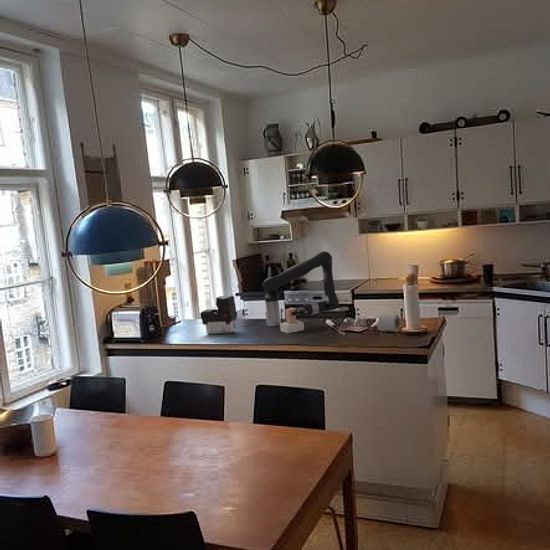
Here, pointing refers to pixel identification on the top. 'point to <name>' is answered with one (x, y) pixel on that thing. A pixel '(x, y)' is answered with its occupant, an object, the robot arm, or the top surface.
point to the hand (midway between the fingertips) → (288, 313)
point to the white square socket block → (292, 326)
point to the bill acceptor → (220, 316)
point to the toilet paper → (389, 323)
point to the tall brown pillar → (288, 315)
